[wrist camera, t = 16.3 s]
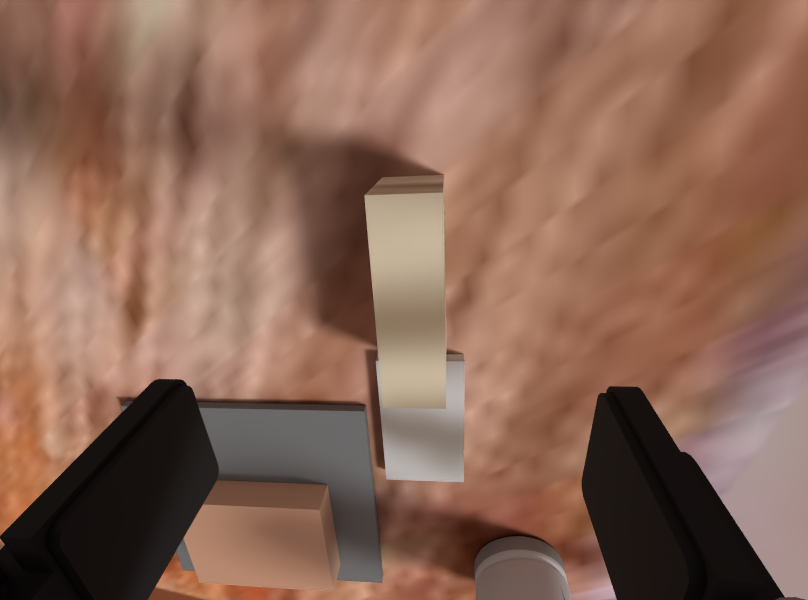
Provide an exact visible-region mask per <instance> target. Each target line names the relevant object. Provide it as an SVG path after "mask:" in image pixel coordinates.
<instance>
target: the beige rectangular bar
mask: <svg viewBox="0 0 808 600" xmlns="http://www.w3.org/2000/svg"><path fill="white" fill-rule="evenodd" d="M364 197H365V209H366V220H367V232H368V243H369V255H370V266H371V278H372V289H373V300H374V312H375V323H376V335H377V346H378V355H377V358H376V370H377V381H378V392H379V403H380V414H381V425H382V436H383V447H384V458H385V469H386V479H390V480H418V481H447V482H464V354H446V288H445V216H444V175H424V176H400V177H382V178H381V179H380V180H379V181H378V182H377V183H376V184H375V185H374V186H373V187H372V188H371V189H370V190H369V191H368V192H367V193H366V194H365V195H364Z"/></svg>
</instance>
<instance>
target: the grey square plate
mask: <svg viewBox="0 0 808 600" xmlns="http://www.w3.org/2000/svg"><path fill="white" fill-rule="evenodd" d="M132 402H133V401H128V400H127V401H126V402H125V403H124V404H123V405H122V406H121V408H122V411H124V410H125V409H126V408H127V407H128V406H129V405H130V404H131V403H132ZM197 404H198V407H199V410H200V413H201V416H202V418H203V421H204V424H205V427H206V430H207V433H208V436H209V439H210V442H211V445H212V448H213V451H214V454H215V456H216V459H217V462H218V466H219V474H218V478H217V480H224V481H249V482H274V483H299V484H324V485H328V490H329V496H330V502H331V509H332V515H333V521H334V528H335V534H336V540H337V546H338V553H339V559H340V568H339V572H338V576H337V580H345V581H361V582H376V583H382V579H383V570H382V560H381V550H380V540H379V530H378V520H377V511H376V501H375V491H374V481H373V471H372V461H371V451H370V441H369V431H368V422H367V412H366V405H325V404H275V403H226V402H197ZM176 552H177V555H178V557H179V560H180V563H181V565H182V568H183V570H189V571H195V569H194V566H193V563H192V561H191V558H190V555H189V552H188V550H187V547H186V544H185V541H184V539H183V540H182V541H181V543H180V545H179V547H178V548H177V550H176Z"/></svg>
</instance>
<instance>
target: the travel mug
mask: <svg viewBox="0 0 808 600" xmlns="http://www.w3.org/2000/svg"><path fill="white" fill-rule="evenodd" d="M474 571H475V585H476V600H572V598H571V594H570V590H569V586H568V583H567V578H566V574H565V570H564V566H563V562H562V559H561V557H560V555H559V554H558V553H557V552H556V551H555V549H553V548H552V547H551V546H549V545H548V544H546V543H545V542H543V541H541V540H538V539H534V538H530V537H525V536H510V537H504V538H500V539H497V540H494V541H492V542H490V543H488V544H487V545H485V546H484V547H483V548H482V549H481V550H480V551H479V553H478V554H477V556H476V558H475V562H474Z"/></svg>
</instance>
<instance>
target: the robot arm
mask: <svg viewBox="0 0 808 600" xmlns="http://www.w3.org/2000/svg"><path fill="white" fill-rule="evenodd" d="M218 474H219V466H218V462H217V459H216V456H215V454H214V451H213V448H212V445H211V442H210V439H209V436H208V433H207V430H206V427H205V424H204V421H203V418H202V416H201V413H200V410H199V407H198V404H197V401H196V398H195V395H194V392H193V390H192V388H191V387H190V386H187V385H186V383H185V382H184V381H183V380H178V379H158V380H155V381H153V382H152V383H151V384H150V385H149V386H148V387H147V388H146V389H145V390H144V391H143V392H142V393H141V394H140V395H139V396H138V397H137V398H136V399H135V400H134V401H133V402H132V403H131V404H130V405H129V406H128V407H127V408H126V409H125V410H124V411H123V412H122V413H121V414H120V415H119V416H118V417H117V418H116V419H115V420H114V421H113V422H112V423H111V424H110V425H109V426H108V427H107V428H106V429H105V430H104V431H103V432H102V433H101V434H100V435H99V436H98V437H97V438H96V439H95V440H94V441H93V443H92V444H91V445H90V446H89V447H88V448H87V449H86V450H85V451H84V452H83V453H82V454H81V455H80V456H79V457H78V458H77V459H76V460H75V461H74V462H73V463H72V464H71V465H70V466H69V467H68V468H67V469H66V470H65V471H64V472H63V473H62V474H61V475H60V476H59V477H58V478H57V479H56V480H55V481H54V482H53V483H52V484H51V485H50V486H49V487H48V488H47V489H46V490H45V491H44V492H43V493H42V494H41V495H40V496H39V497H38V498H37V499H36V500H35V501H34V502H33V503H32V504H31V505H30V506H29V507H28V508H27V509H26V510H25V511H24V512H23V513H22V514H21V515H20V516H19V517H18V518H17V519H16V521H15V522H14V523H13V524H12V525H11V526H10V527H9V528H8V529H7V530H6V531H5V532H4V533H3V534H2V535H1V536H0V539H1V540H2V541H3V543H4V544H5V546H4V547H3V548H2V549H1V550H0V600H148V598H149V597H150V595H151V593H152V591H153V590H154V588H155V586H156V584H157V583H158V581H159V579H160V578H161V576H162V574H163V572H164V571H165V569H166V567H167V566H168V564H169V562H170V560H171V559H172V557H173V555H174V553H175V552H176V550H177V548H178V547H179V545H180V543H181V541H182V540H183V538H184V536H185V535H186V533H187V531H188V529H189V528H190V526H191V524H192V522H193V521H194V519H195V517H196V516H197V514H198V512H199V510H200V509H201V507H202V505H203V504H204V502H205V500H206V498H207V497H208V495H209V493H210V491H211V490H212V488H213V486H214V485H215V483H216V481H217V478H218ZM582 492H583V497H584V500H585V503H586V506H587V509H588V512H589V515H590V518H591V522H592V525H593V528H594V531H595V534H596V537H597V540H598V543H599V546H600V549H601V552H602V555H603V558H604V561H605V564H606V567H607V570H608V574H609V577H610V580H611V583H612V586H613V589H614V592H615V595H616V598H617V600H804V599H800V598H796V597H787V598H785V597H784V595H783V594H782V592H781V591H780V589H779V588H778V586H777V585H776V583H775V582H774V580H773V579H772V577H771V575H770V574H769V573H768V571H767V569H766V568H765V566H764V565H763V563H762V562H761V560H760V559H759V557H758V556H757V554H756V553H755V551H754V550H753V548H752V547H751V545H750V544H749V542H748V540H747V539H746V537H745V536H744V534H743V533H742V531H741V530H740V528H739V527H738V525H737V524H736V522H735V520H734V519H733V517H732V516H731V515H730V513H729V511H728V510H727V508H726V507H725V505H724V504H723V502H722V501H721V499H720V498H719V496H718V494H717V493H716V491H715V490H714V488H713V487H712V485H711V484H710V482H709V481H708V479H707V478H706V476H705V475H704V473H703V472H702V470H701V468H700V467H699V465H698V464H697V462H696V461H695V460H694V459H693V458H692V456H691V455H689V454H687V453H686V452H680V450H679V449H678V447H677V445H676V444H675V442H674V441H673V439H672V437H671V436H670V434H669V433H668V431H667V429H666V428H665V426H664V425H663V423H662V422H661V420H660V418H659V417H658V415H657V414H656V412H655V410H654V409H653V407H652V406H651V404H650V402H649V401H648V399H647V398H646V396H645V395H644V393H643V391H642V390H641V389H640V388H638V387H614V386H611V387H609V388H608V389H607V392H606V393H600V394H599V395H598V399H597V404H596V409H595V414H594V419H593V424H592V430H591V435H590V440H589V445H588V450H587V456H586V461H585V466H584V471H583V476H582Z"/></svg>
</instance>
